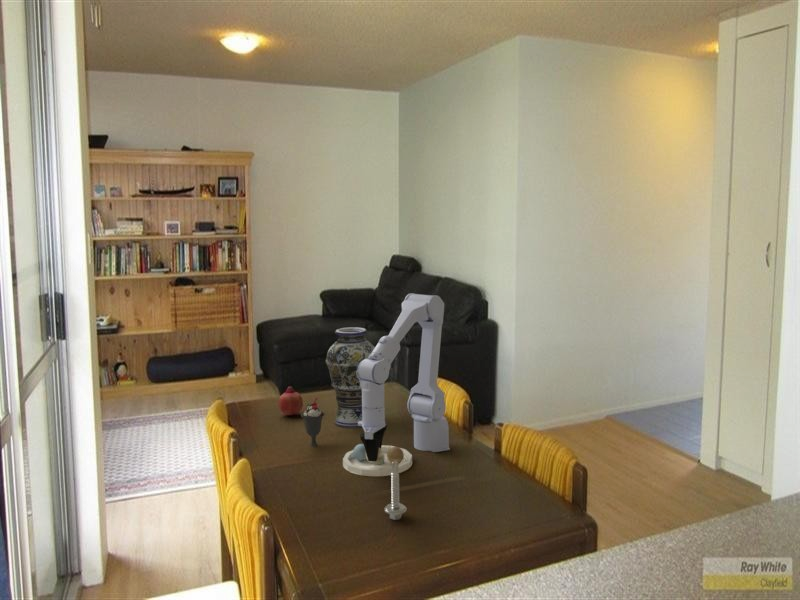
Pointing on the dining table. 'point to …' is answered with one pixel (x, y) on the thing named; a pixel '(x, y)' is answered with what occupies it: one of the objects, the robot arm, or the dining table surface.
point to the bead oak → (395, 454)
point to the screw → (395, 495)
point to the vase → (348, 373)
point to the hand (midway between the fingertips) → (374, 457)
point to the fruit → (290, 402)
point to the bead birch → (377, 457)
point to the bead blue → (360, 452)
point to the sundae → (313, 421)
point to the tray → (376, 464)
